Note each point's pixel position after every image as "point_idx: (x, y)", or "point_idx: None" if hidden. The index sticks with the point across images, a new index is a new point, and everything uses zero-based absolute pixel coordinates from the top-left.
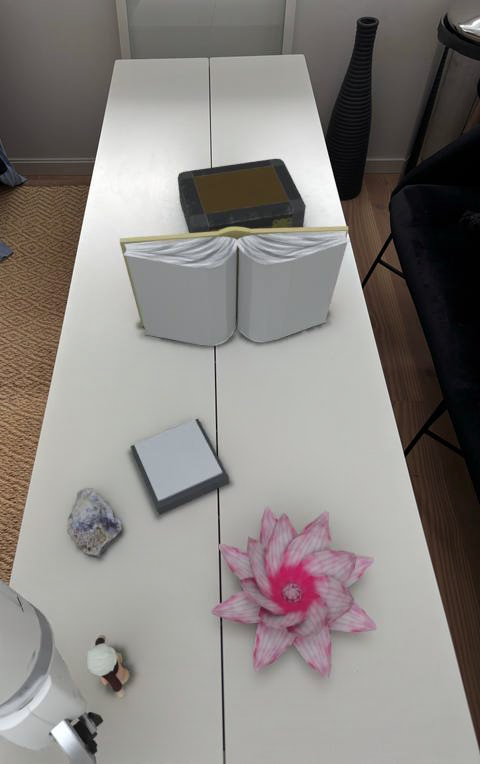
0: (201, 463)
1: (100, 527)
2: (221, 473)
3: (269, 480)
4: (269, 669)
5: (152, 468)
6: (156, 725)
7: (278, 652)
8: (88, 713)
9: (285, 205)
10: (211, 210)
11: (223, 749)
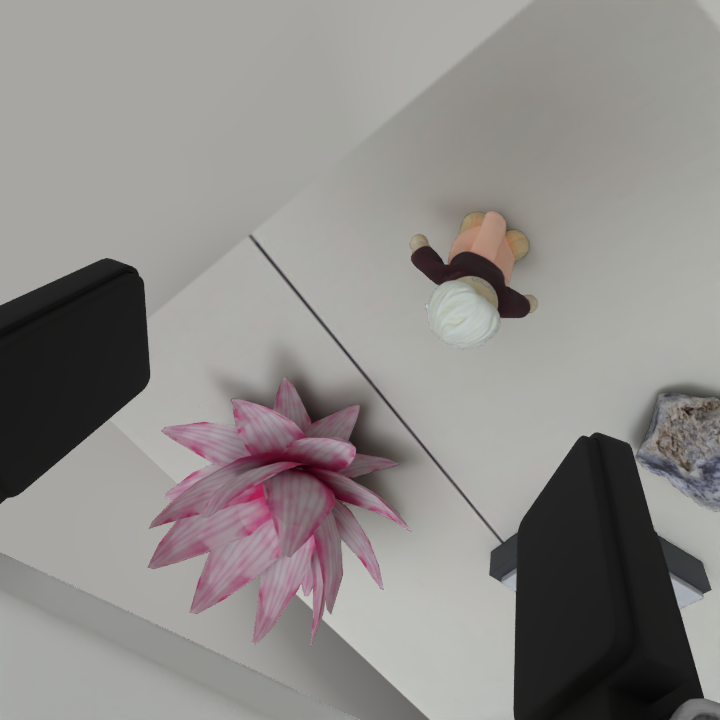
0: None
1: (681, 468)
2: (502, 579)
3: (436, 566)
4: (278, 363)
5: None
6: (363, 208)
7: (243, 420)
8: (4, 495)
9: None
10: None
11: (257, 243)
